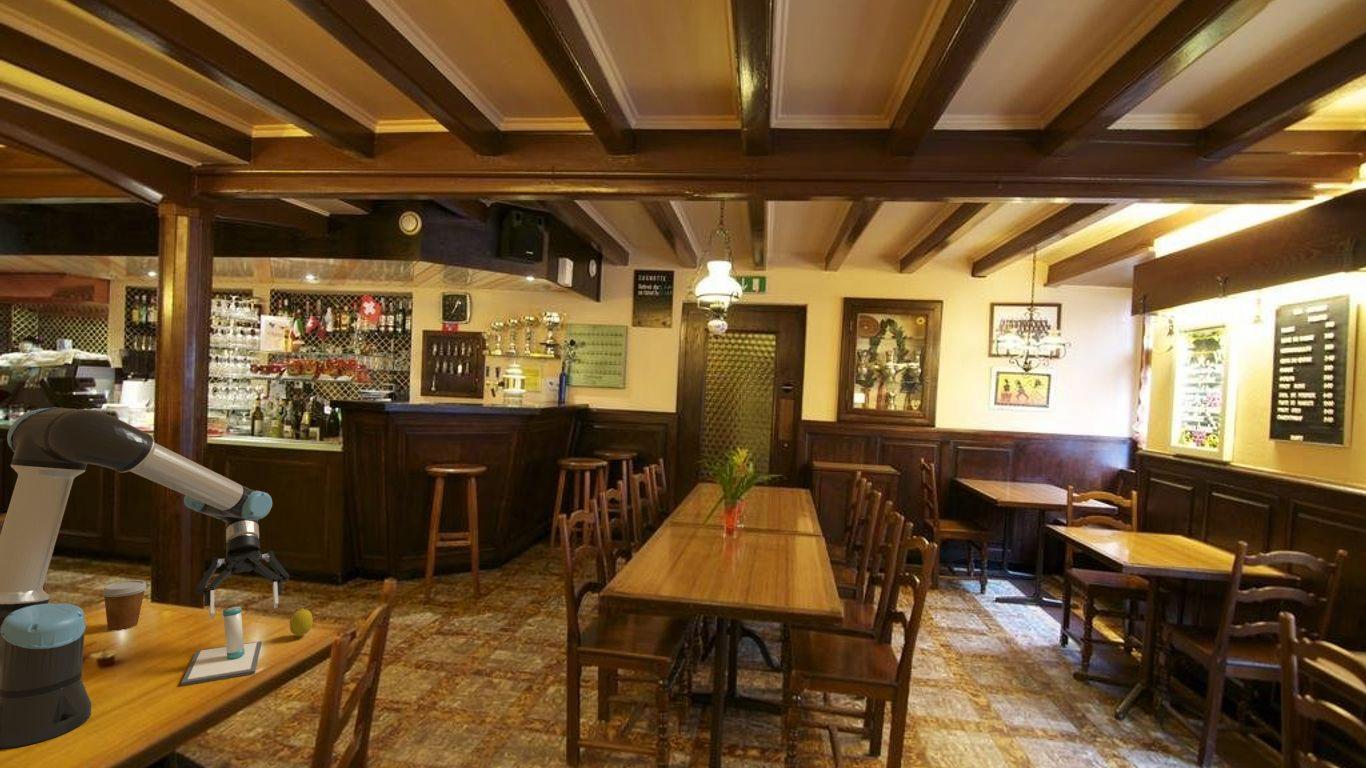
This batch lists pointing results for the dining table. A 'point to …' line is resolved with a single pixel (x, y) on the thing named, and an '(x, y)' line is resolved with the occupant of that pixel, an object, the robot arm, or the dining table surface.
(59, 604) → the robot arm
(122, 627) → the disposable coffee cup
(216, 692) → the dining table surface
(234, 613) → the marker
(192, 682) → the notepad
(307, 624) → the lemon
